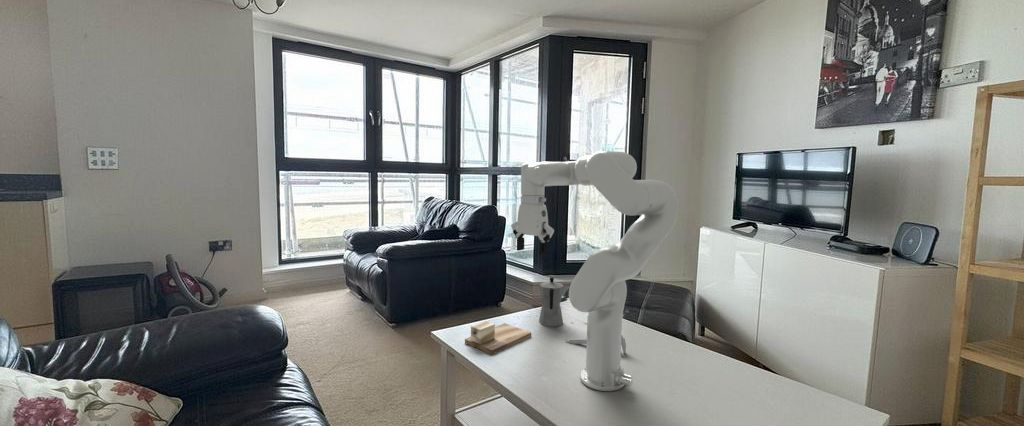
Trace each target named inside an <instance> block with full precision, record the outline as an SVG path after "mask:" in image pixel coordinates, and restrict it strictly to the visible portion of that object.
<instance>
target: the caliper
mask: <svg viewBox="0 0 1024 426" xmlns="http://www.w3.org/2000/svg"><path fill="white" fill-rule="evenodd" d="M565 343H569V344H573V345H581V344H582V345H587V338H569V339H566V340H565ZM621 350H622V351H623V354H626V352H627V343H626V338H625V337H624V336H623V335H621Z"/></svg>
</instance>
